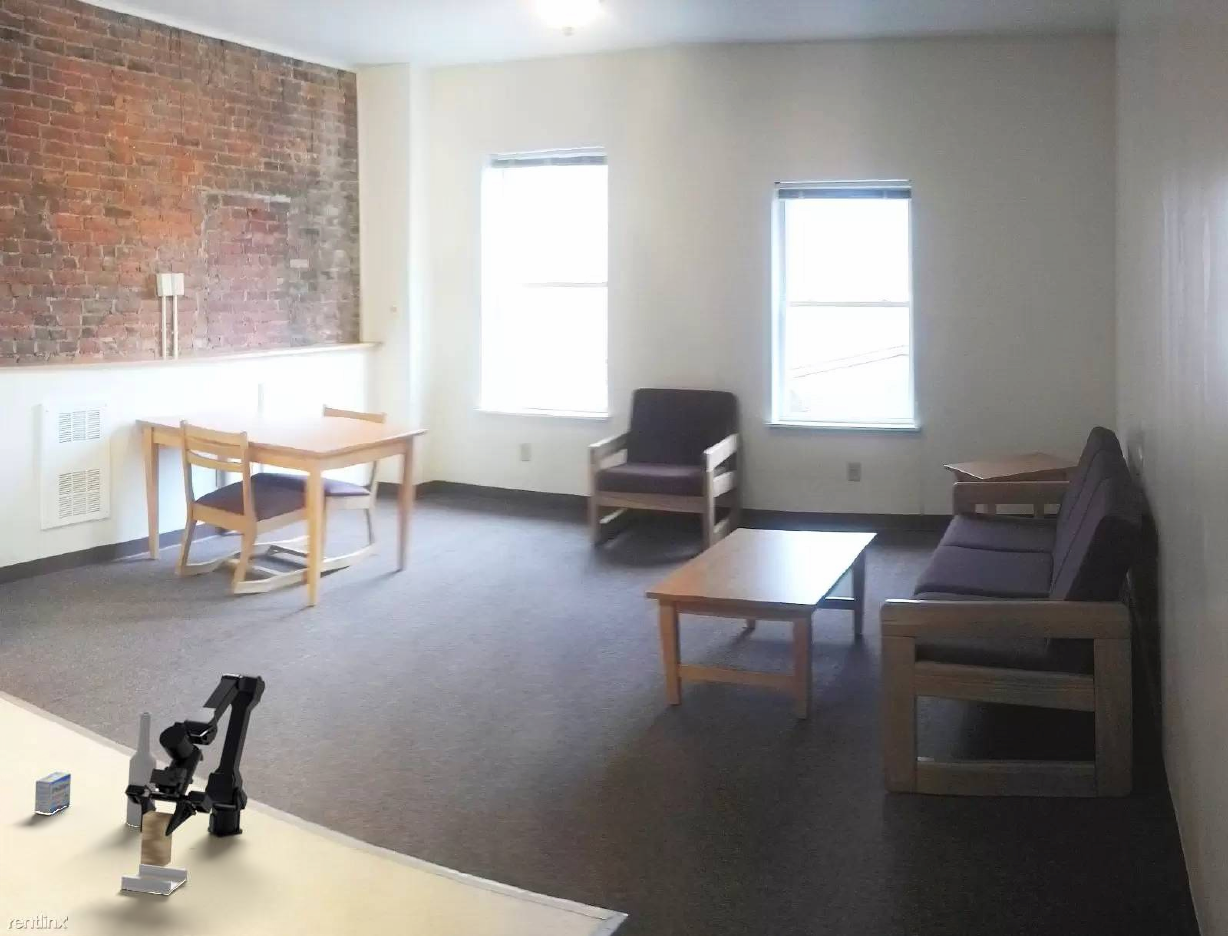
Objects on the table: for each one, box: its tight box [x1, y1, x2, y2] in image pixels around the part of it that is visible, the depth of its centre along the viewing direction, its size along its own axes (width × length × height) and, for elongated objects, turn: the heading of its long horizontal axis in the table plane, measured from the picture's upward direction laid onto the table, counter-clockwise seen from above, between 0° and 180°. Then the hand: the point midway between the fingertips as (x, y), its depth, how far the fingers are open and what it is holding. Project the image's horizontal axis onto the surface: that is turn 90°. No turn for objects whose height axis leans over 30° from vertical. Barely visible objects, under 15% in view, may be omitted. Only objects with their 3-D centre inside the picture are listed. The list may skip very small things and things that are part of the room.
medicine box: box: [34, 771, 72, 813], centre depth 301 cm, size 8×4×9 cm, turn 168°
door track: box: [120, 862, 188, 894], centre depth 263 cm, size 11×8×3 cm
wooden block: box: [140, 810, 174, 867], centre depth 262 cm, size 6×3×11 cm, turn 82°
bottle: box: [125, 711, 158, 826], centre depth 297 cm, size 7×7×28 cm
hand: (153, 834), depth 261 cm, fingers closed on wooden block, 5 cm apart
